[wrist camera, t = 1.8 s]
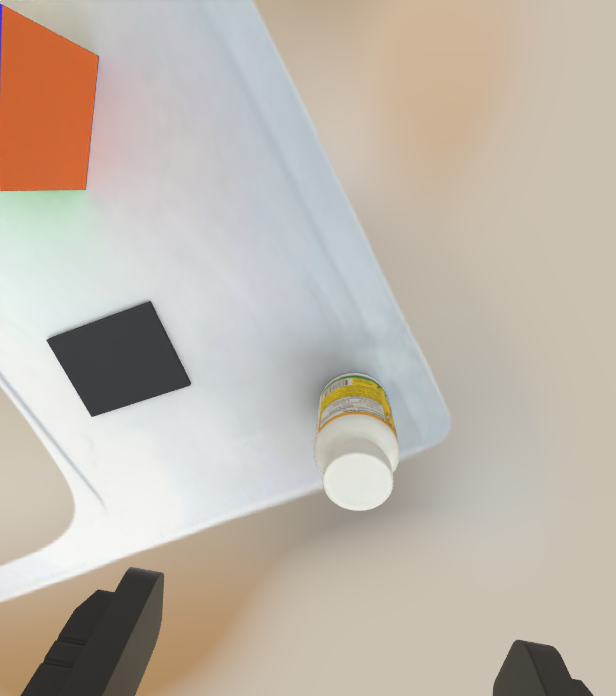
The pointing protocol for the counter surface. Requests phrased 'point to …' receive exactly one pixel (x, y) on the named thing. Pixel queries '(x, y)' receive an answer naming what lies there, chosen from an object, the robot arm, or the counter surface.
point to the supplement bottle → (356, 442)
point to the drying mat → (120, 360)
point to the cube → (43, 107)
